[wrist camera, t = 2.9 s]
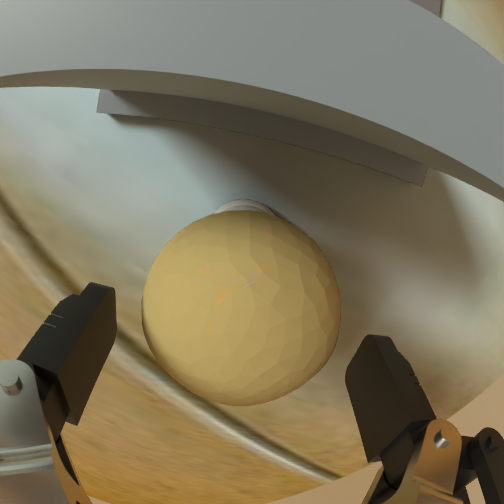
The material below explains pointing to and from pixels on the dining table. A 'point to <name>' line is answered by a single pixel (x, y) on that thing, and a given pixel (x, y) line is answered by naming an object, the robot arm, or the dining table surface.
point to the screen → (279, 75)
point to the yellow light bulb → (241, 306)
